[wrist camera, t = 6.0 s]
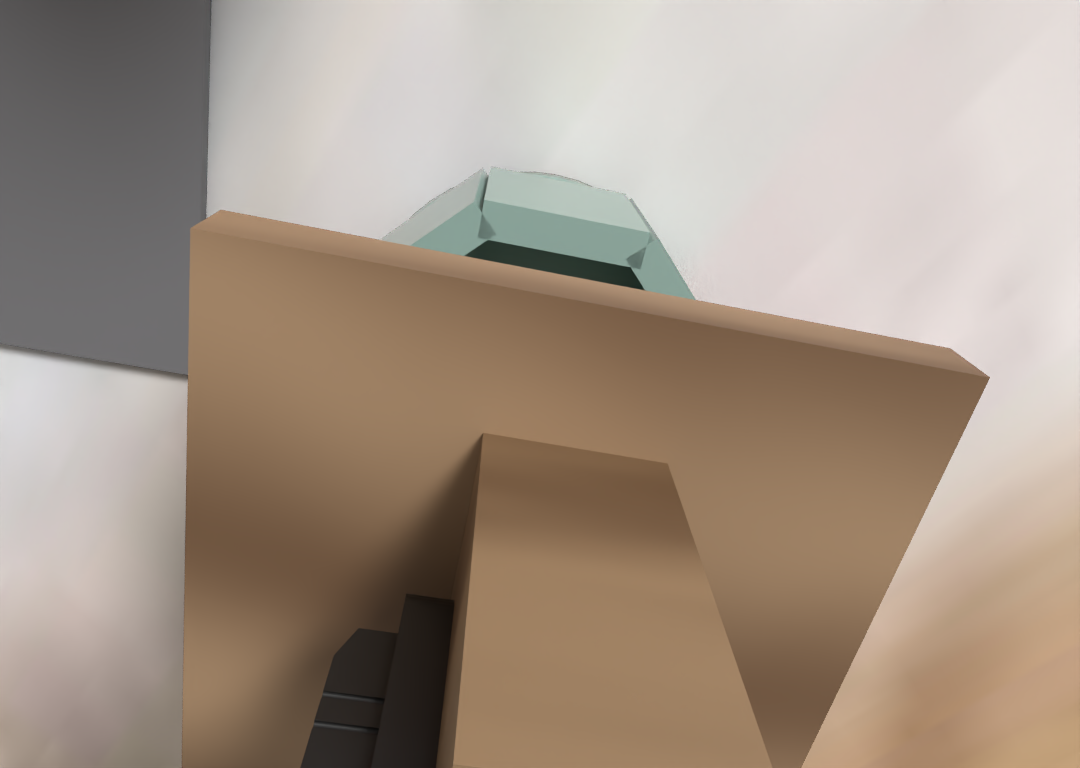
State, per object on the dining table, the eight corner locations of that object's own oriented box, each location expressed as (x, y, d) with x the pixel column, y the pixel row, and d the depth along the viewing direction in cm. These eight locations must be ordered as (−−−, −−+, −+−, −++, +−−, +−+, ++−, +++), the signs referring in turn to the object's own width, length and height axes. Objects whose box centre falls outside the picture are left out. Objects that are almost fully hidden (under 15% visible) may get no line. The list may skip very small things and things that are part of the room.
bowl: (387, 140, 20) (347, 172, 15) (719, 207, 21) (774, 257, 16) (352, 440, 24) (312, 538, 19) (636, 486, 24) (663, 590, 20)
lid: (220, 209, 10) (-157, 434, 4) (949, 348, 11) (1392, 671, 5) (203, 759, 14) (-5, 1236, 8) (735, 822, 15) (862, 1282, 9)
